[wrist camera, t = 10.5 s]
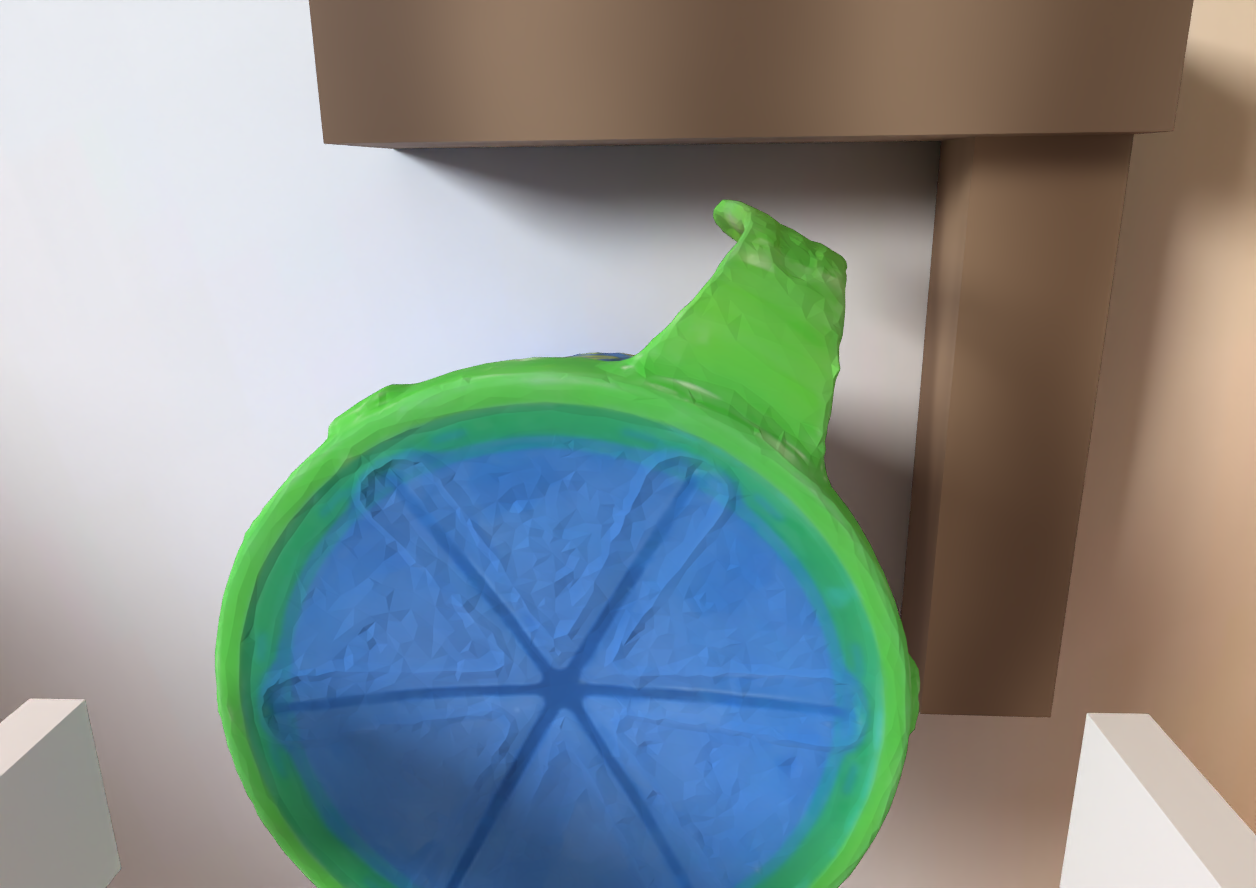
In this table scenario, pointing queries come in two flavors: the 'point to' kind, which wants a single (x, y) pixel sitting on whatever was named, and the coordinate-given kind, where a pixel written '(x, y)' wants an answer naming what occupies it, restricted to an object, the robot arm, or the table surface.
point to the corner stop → (962, 241)
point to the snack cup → (581, 616)
